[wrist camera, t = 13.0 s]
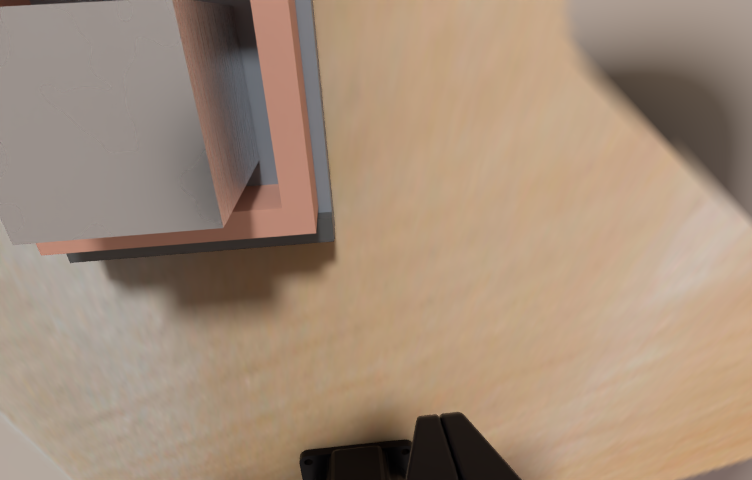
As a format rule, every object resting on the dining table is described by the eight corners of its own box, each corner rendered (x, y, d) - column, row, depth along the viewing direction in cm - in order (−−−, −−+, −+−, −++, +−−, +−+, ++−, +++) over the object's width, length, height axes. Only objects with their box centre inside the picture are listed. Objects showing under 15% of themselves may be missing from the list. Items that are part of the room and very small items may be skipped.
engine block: (259, 159, 16) (223, 227, 11) (119, 169, 16) (12, 244, 11) (232, 5, 14) (171, -3, 9) (69, 14, 14) (-97, 12, 8)
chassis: (334, 223, 19) (334, 270, 16) (98, 242, 19) (43, 295, 15) (300, -124, 14) (288, -172, 10) (-33, -111, 13) (-165, -158, 10)
